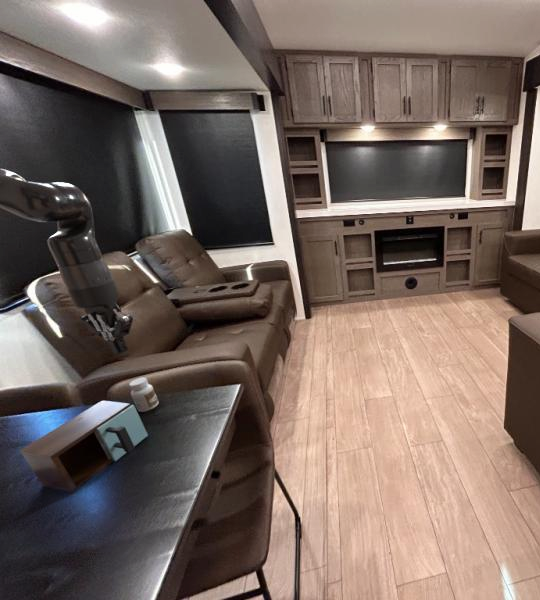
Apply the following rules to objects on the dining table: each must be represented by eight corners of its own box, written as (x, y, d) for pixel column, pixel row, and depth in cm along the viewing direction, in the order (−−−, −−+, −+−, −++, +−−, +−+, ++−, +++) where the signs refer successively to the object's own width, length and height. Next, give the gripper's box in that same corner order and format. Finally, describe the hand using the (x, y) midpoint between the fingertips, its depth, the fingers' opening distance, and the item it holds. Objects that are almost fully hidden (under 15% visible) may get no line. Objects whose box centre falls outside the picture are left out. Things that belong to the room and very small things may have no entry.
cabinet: (43, 486, 61) (19, 450, 57) (118, 431, 73) (102, 400, 70) (73, 493, 59) (50, 456, 56) (145, 436, 71) (130, 403, 68)
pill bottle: (156, 409, 80) (145, 383, 77) (135, 414, 79) (123, 388, 76) (161, 399, 84) (151, 374, 81) (141, 404, 82) (130, 379, 80)
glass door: (113, 460, 65) (96, 428, 62) (146, 435, 71) (131, 404, 68) (131, 464, 64) (114, 431, 61) (162, 437, 70) (148, 407, 67)
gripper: (131, 277, 69) (158, 346, 76) (87, 276, 73) (117, 342, 79) (93, 289, 63) (126, 363, 69) (47, 287, 66) (83, 358, 72)
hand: (121, 352), depth 74 cm, fingers closed
